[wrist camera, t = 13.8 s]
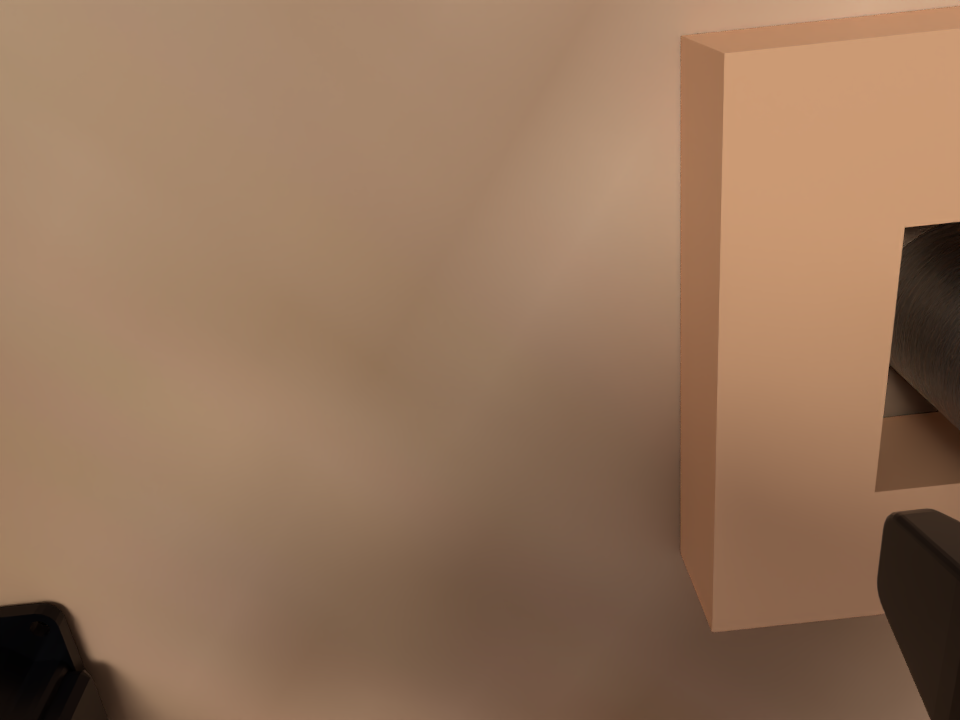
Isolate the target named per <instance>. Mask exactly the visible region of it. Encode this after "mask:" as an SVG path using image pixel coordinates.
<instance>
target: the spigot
mask: <svg viewBox="0 0 960 720" xmlns="http://www.w3.org/2000/svg"><path fill="white" fill-rule="evenodd" d="M889 365H890V366H891V367H892V368H893V369H895V370H896V371H897V372H898V373H899V374H900V375H901V376H902V377H903V378H904V379H905V380H906V381H907V382H908V383H910V384H911V385H912V386H913V387H914V388H915V389H916V390H917V391H918V392H919V393H920V394H921V395H922V396H923V397H924V398H926V399H927V400H928V401H929V402H930V403H931V404H932V405H933V406H934V407H935V408H936V409H937V410H938V411H939V412H940V413H942V414H943V415H944V416H945V417H946V418H947V419H948V420H949V421H950V422H951V423H952V424H953V425H954V426H955V427H957V428H958V429H959V430H960V222H952V223H948V224H945V225H942V226H939V227H937V228H934V229H932V230H930V231H928V232H926V233H924V234H923V235H921V236H919V237H918V238H916V239H915V240H913V241H912V242H910V243H909V244H908V245H907V246H906V247H904V248H903V249H902V256H901V264H900V273H899V282H898V291H897V300H896V309H895V317H894V326H893V335H892V344H891V353H890V361H889Z"/></svg>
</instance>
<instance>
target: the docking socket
mask: <svg viewBox="0 0 960 720" xmlns="http://www.w3.org/2000/svg"><path fill="white" fill-rule="evenodd" d="M951 222H960V6H955V7H946V8H936V9H927V10H918V11H908V12H899V13H890V14H880V15H871V16H862V17H852V18H843V19H834V20H824V21H815V22H805V23H796V24H787V25H777V26H768V27H759V28H749V29H740V30H731V31H721V32H712V33H702V34H693V35H684V36H681V474H680V553H681V556H682V558H683V561H684V563H685V566H686V568H687V571H688V573H689V576H690V578H691V581H692V583H693V586H694V588H695V591H696V593H697V596H698V598H699V601H700V603H701V606H702V608H703V611H704V613H705V616H706V618H707V621H708V623H709V626H710V628H711V631H712V633H713V632H722V631H732V630H741V629H750V628H760V627H769V626H778V625H788V624H797V623H806V622H816V621H825V620H834V619H844V618H853V617H862V616H871V615H881V614H885V612H884V610H883V608H882V605H881V603H880V599H879V596H878V590H877V574H878V565H879V557H880V549H881V541H882V533H883V526H884V522H885V520H886V518H887V516H889V515H890V514H891V513H893V512H897V511H906V510H916V509H926V508H928V509H934V510H937V511H939V512H941V513H943V514H945V515H947V516H950V517H952V518H954V519H956V520H958V521H960V430H959V429H958V428H957V427H955V426H954V425H953V424H952V423H951V422H950V421H949V420H948V419H947V418H946V417H945V416H944V415H943V414H942V413H940V412H932V413H922V414H913V415H904V416H894V417H885V418H883V414H884V405H885V397H886V388H887V379H888V370H889V361H890V353H891V344H892V335H893V326H894V317H895V309H896V300H897V291H898V282H899V273H900V264H901V256H902V247H903V238H904V229H905V227H914V226H923V225H933V224H942V223H951Z"/></svg>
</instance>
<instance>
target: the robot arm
mask: <svg viewBox="0 0 960 720" xmlns="http://www.w3.org/2000/svg"><path fill="white" fill-rule="evenodd" d="M877 590H878V596H879V599H880V603H881V605H882V608H883V610H884V612H885V615H886V617H887V619H888V622H889V624H890V626H891V629H892V631H893V633H894V636H895V638H896V640H897V643H898V645H899V647H900V650H901V652H902V654H903V656H904V659H905V661H906V663H907V666H908V668H909V670H910V673H911V675H912V677H913V680H914V682H915V684H916V687H917V689H918V691H919V694H920V696H921V698H922V701H923V703H924V705H925V707H926V710H927V712H928V714H929V717H930V719H931V720H960V521H958V520H956V519H954V518H952V517H950V516H947V515H945V514H943V513H941V512H939V511H937V510H934V509H928V508H926V509H916V510H906V511H897V512H893V513H891V514H890V515H889V516H887V518H886V520H885V522H884V526H883V533H882V541H881V549H880V557H879V565H878V574H877ZM38 621H41V622H44V623H46V624H47V625H48V626H45V625H42V624H40V623H38ZM0 720H108V718H107V715H106V712H105V710H104V707H103V705H102V702H101V699H100V697H99V694H98V691H97V689H96V686H95V684H94V681H93V678H92V677H91V676H90V675H89V674H88V673H87V672H86V670H85V668H84V665H83V663H82V660H81V658H80V655H79V652H78V650H77V647H76V644H75V642H74V639H73V637H72V634H71V631H70V629H69V626H68V624H67V621H66V618H65V616H64V614H63V613H62V611H61V610H59V609H58V608H57V607H55V606H53V605H50V604H44V603H38V604H28V605H19V606H10V607H0Z"/></svg>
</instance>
